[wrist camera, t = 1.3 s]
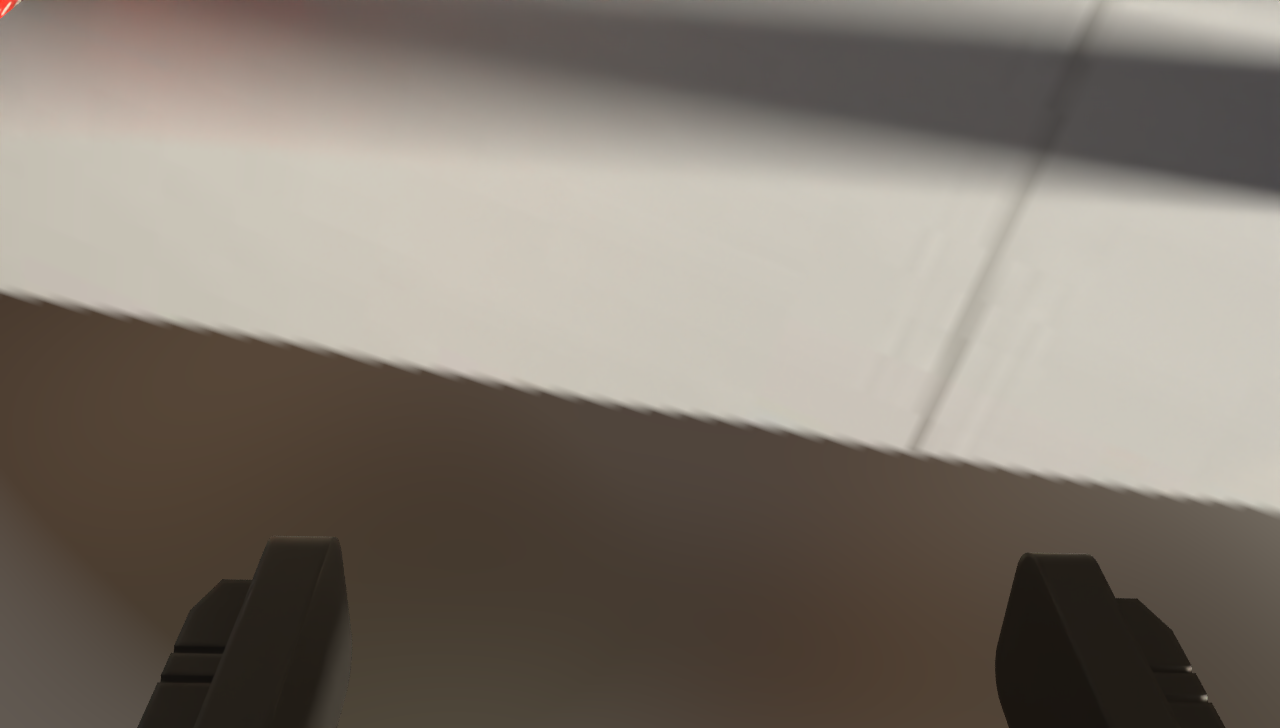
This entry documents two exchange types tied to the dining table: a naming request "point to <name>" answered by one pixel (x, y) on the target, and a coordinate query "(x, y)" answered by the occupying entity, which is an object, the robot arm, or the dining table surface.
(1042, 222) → the dining table surface
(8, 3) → the beverage cup
